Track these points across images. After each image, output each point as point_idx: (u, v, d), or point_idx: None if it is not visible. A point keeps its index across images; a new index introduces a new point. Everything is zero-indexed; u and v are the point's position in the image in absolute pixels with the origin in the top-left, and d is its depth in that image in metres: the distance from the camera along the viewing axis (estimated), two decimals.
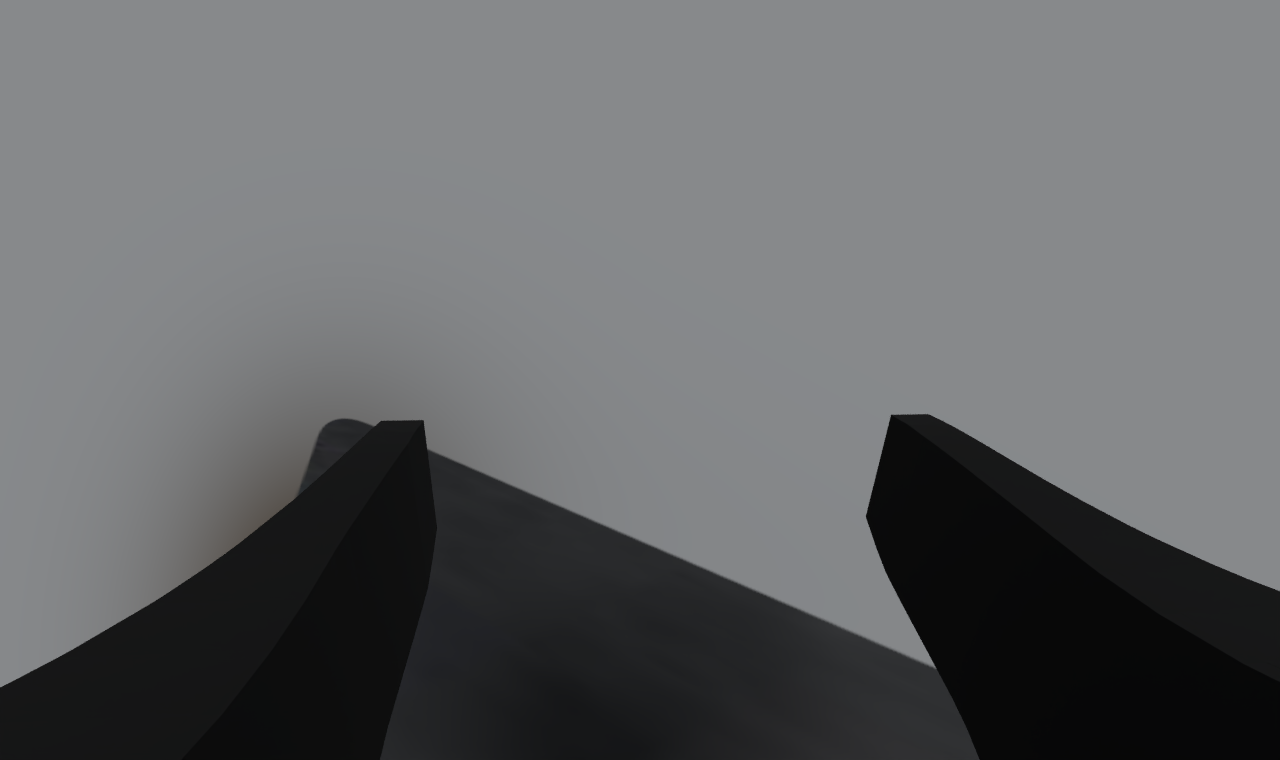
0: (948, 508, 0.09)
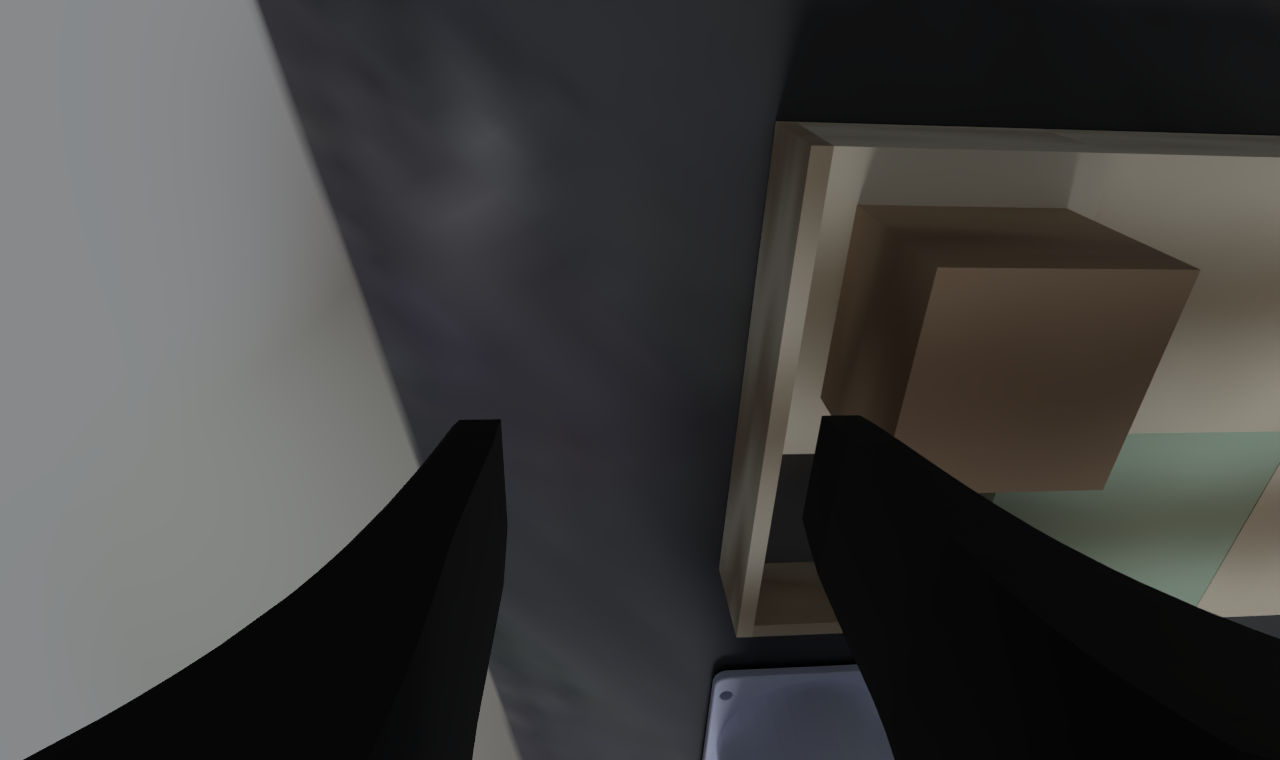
0: (868, 510, 0.09)
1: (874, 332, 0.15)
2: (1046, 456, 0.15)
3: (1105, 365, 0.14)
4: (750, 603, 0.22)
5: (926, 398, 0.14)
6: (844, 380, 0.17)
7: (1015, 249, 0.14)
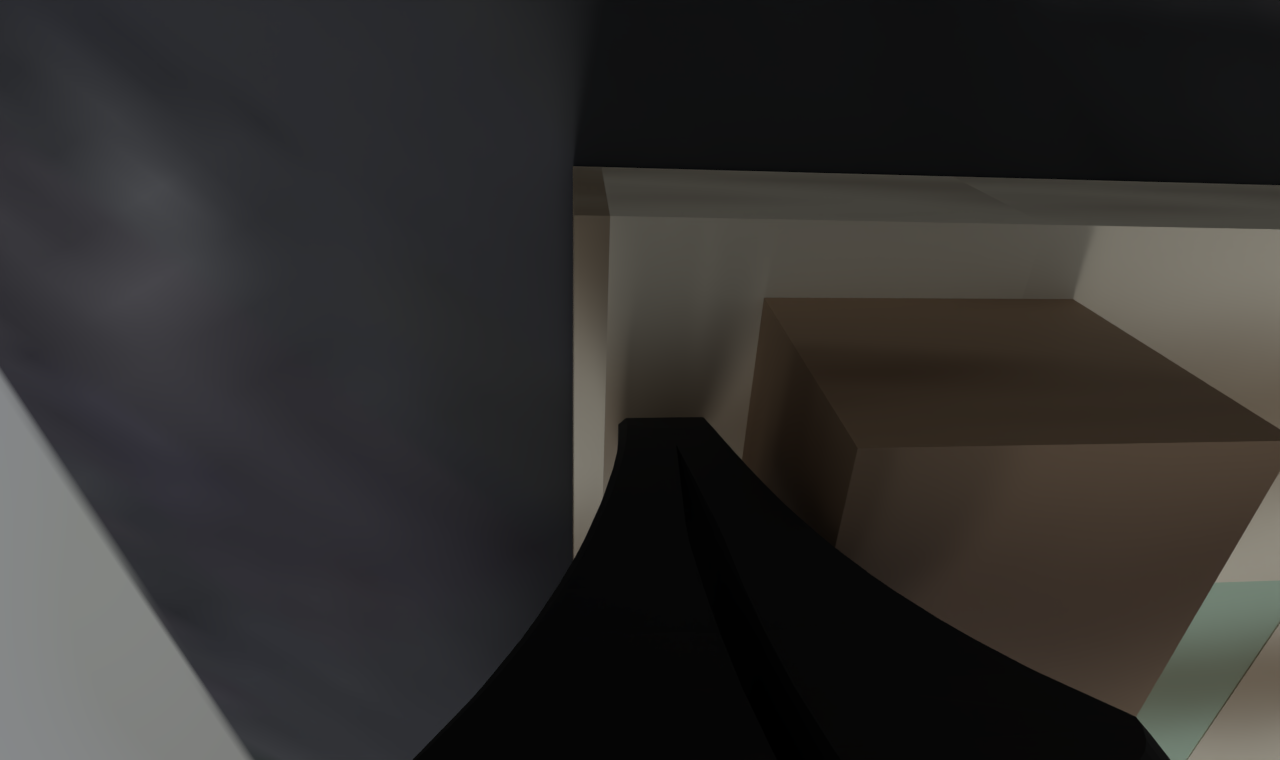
0: (686, 513, 0.09)
1: (783, 499, 0.10)
2: None
3: (1136, 576, 0.09)
4: None
5: None
6: None
7: (993, 395, 0.08)
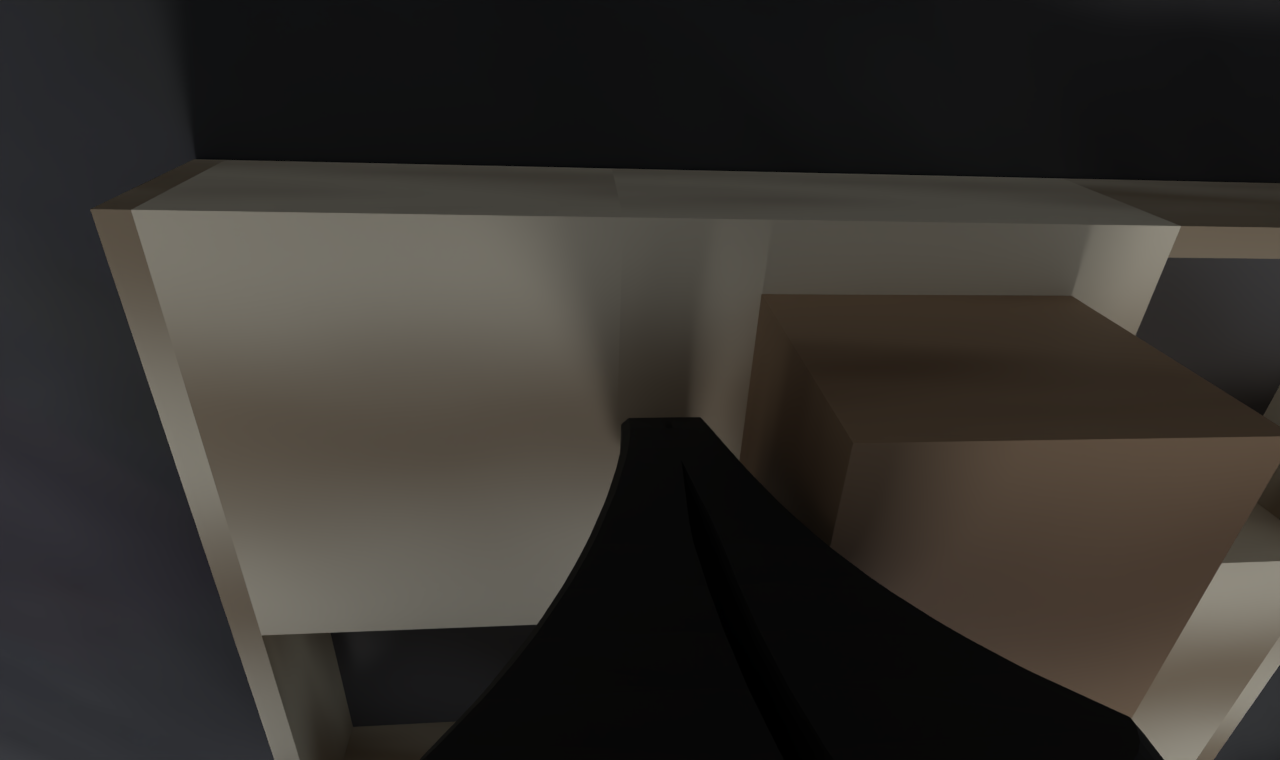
0: None
1: (780, 496, 0.10)
2: None
3: (1134, 572, 0.09)
4: None
5: None
6: None
7: (990, 391, 0.08)
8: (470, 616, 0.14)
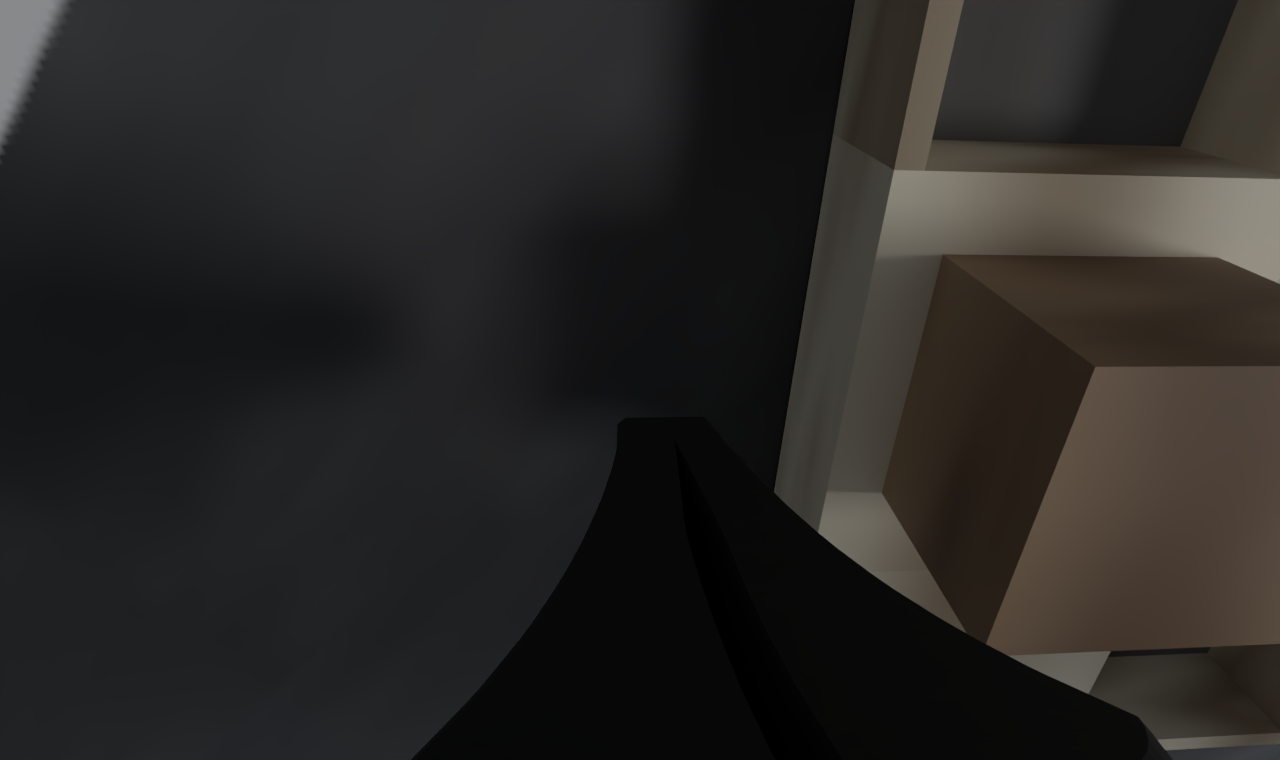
0: (686, 514, 0.09)
1: None
2: None
3: (1208, 442, 0.09)
4: (1246, 740, 0.20)
5: (1155, 628, 0.11)
6: None
7: (983, 507, 0.11)
8: None
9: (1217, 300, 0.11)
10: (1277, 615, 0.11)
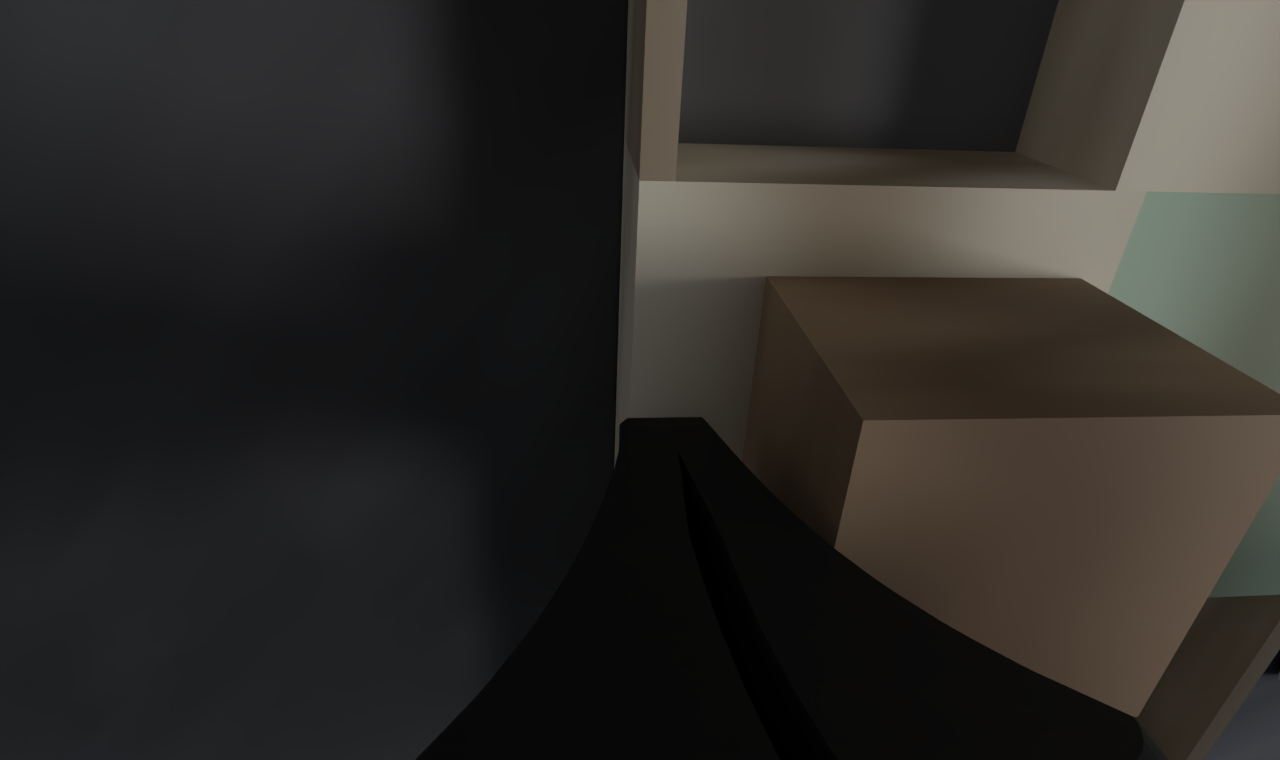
0: None
1: None
2: (1175, 532, 0.08)
3: (1015, 503, 0.08)
4: None
5: None
6: None
7: None
8: None
9: (1054, 332, 0.09)
10: (1129, 687, 0.10)
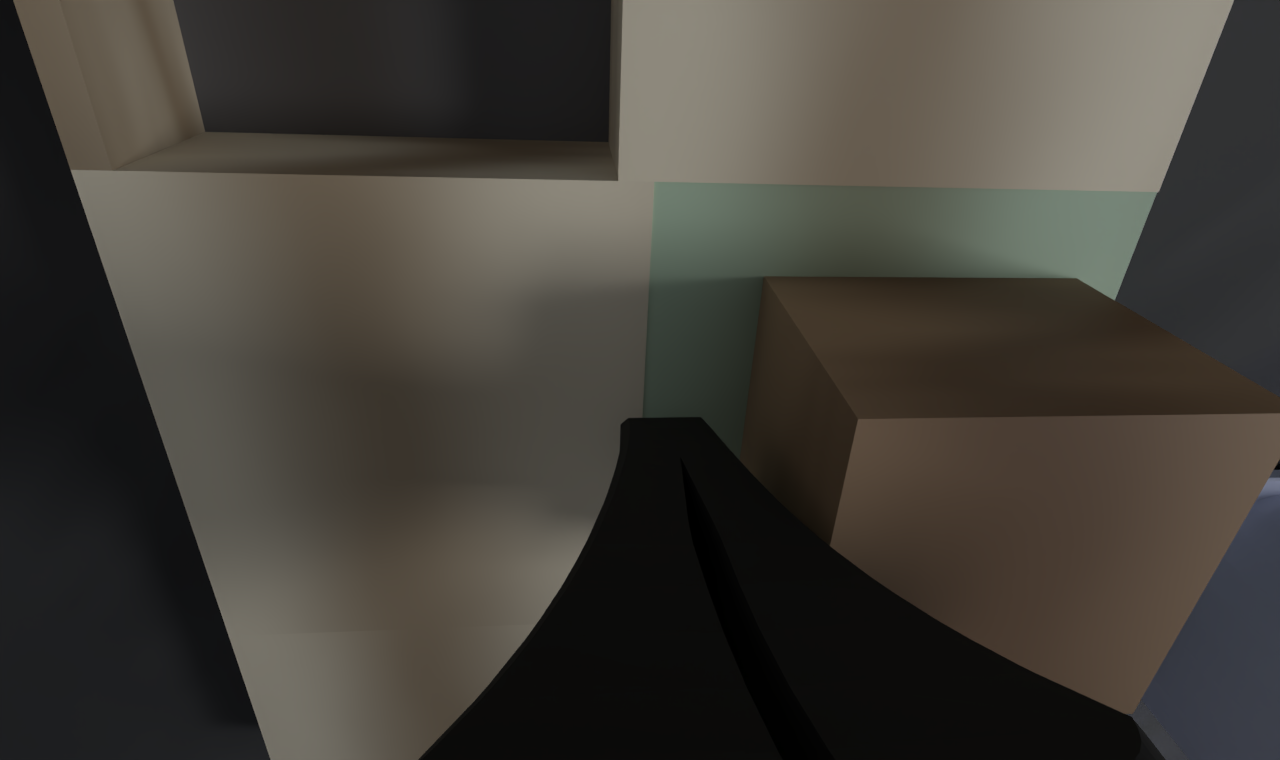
0: None
1: None
2: (1168, 530, 0.08)
3: (1009, 501, 0.08)
4: None
5: None
6: None
7: None
8: None
9: (1048, 331, 0.09)
10: (1123, 684, 0.10)
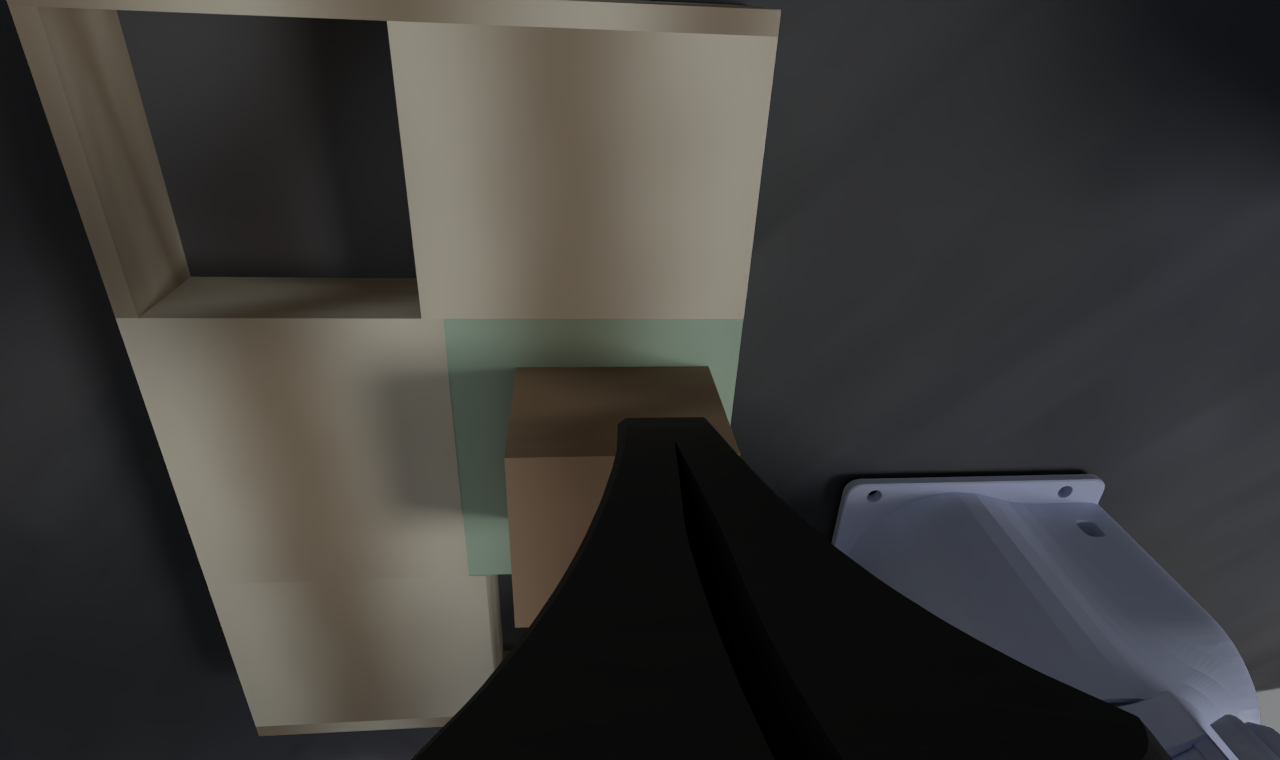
0: (686, 514, 0.09)
1: None
2: None
3: (597, 498, 0.16)
4: None
5: None
6: None
7: None
8: (481, 637, 0.23)
9: (653, 404, 0.17)
10: None
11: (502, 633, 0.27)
